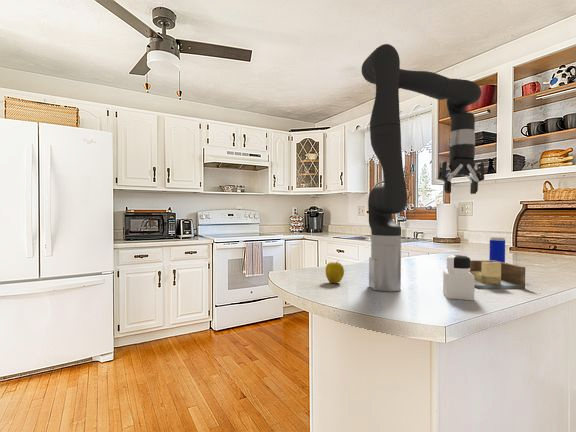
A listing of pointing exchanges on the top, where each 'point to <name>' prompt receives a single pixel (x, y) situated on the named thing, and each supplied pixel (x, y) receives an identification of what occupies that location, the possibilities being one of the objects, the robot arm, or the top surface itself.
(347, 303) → the top surface
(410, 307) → the top surface
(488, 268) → the brass bracket
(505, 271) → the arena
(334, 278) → the apple
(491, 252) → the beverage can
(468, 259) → the medicine bottle
